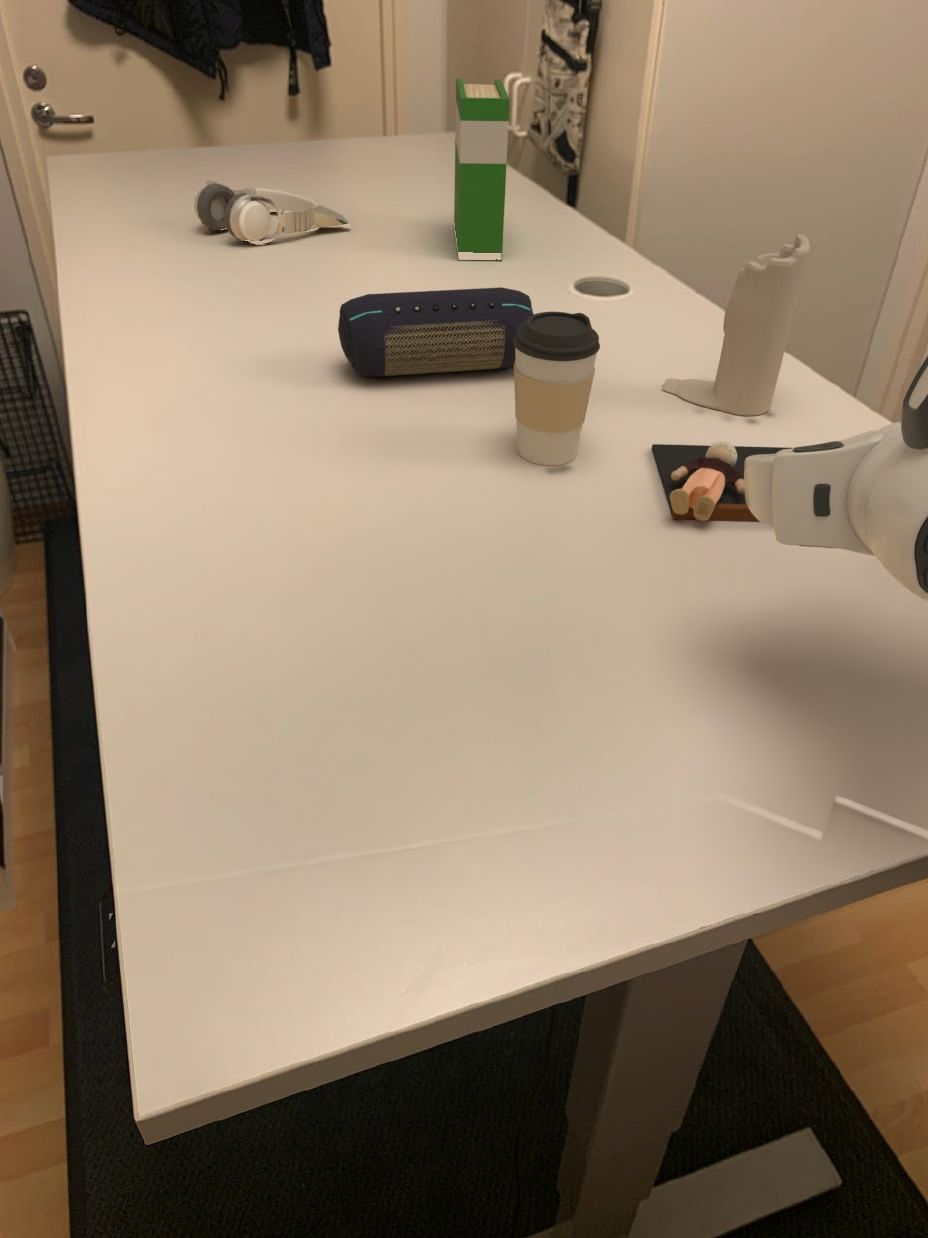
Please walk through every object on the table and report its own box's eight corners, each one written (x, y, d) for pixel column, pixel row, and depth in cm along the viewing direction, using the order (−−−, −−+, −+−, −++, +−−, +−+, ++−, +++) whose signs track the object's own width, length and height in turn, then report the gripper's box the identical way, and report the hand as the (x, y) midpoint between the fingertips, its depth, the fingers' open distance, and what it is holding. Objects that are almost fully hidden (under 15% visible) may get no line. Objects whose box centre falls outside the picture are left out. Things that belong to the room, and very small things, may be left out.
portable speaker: (346, 392, 113) (341, 313, 107) (338, 359, 120) (333, 283, 114) (540, 379, 117) (547, 302, 111) (521, 348, 125) (526, 274, 118)
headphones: (252, 252, 152) (351, 242, 166) (251, 202, 148) (353, 196, 162) (178, 223, 163) (277, 216, 178) (175, 176, 159) (277, 173, 173)
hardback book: (454, 229, 167) (456, 78, 151) (494, 229, 167) (500, 79, 152) (458, 260, 153) (460, 98, 138) (501, 260, 153) (509, 98, 138)
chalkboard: (791, 452, 103) (795, 441, 103) (830, 523, 92) (834, 511, 91) (651, 448, 103) (653, 437, 103) (673, 519, 92) (675, 507, 91)
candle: (672, 373, 119) (700, 212, 107) (777, 398, 114) (819, 232, 101) (652, 393, 114) (679, 227, 102) (761, 421, 109) (804, 249, 97)
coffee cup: (529, 476, 98) (540, 342, 88) (493, 439, 104) (499, 309, 95) (602, 461, 101) (619, 329, 91) (562, 425, 107) (575, 299, 98)
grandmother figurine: (667, 475, 89) (697, 420, 98) (654, 506, 91) (685, 450, 100) (741, 506, 87) (765, 448, 96) (726, 537, 90) (751, 477, 99)
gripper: (1096, 427, 56) (1017, 405, 69) (752, 455, 61) (738, 429, 74) (1087, 526, 58) (1012, 487, 71) (754, 546, 63) (739, 505, 76)
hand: (870, 457), depth 73 cm, fingers closed
